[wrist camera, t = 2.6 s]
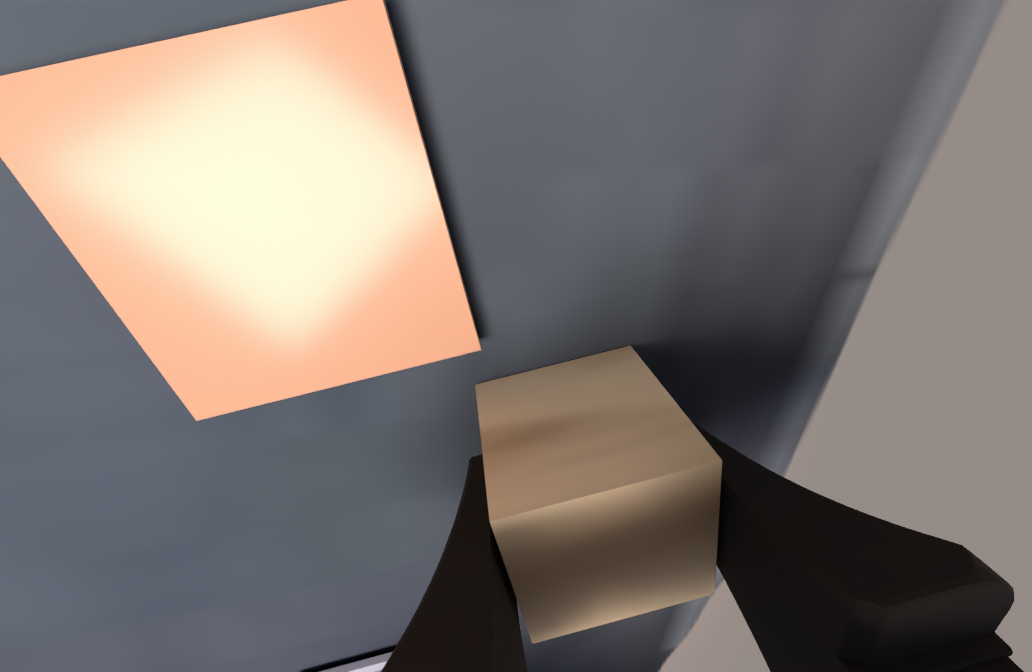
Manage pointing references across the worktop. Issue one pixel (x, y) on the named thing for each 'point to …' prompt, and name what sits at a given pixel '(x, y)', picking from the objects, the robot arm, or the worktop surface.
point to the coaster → (249, 202)
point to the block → (597, 492)
